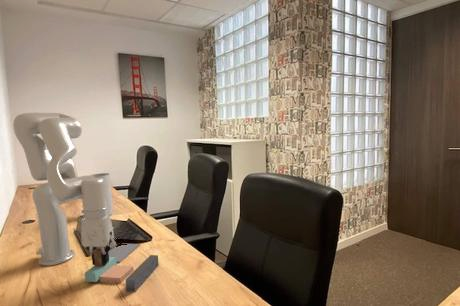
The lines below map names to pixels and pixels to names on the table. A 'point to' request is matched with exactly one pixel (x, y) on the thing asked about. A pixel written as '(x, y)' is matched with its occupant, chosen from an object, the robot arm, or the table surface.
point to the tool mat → (122, 251)
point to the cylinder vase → (108, 190)
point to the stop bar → (141, 273)
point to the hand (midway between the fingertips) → (101, 262)
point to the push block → (98, 266)
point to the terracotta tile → (116, 274)
